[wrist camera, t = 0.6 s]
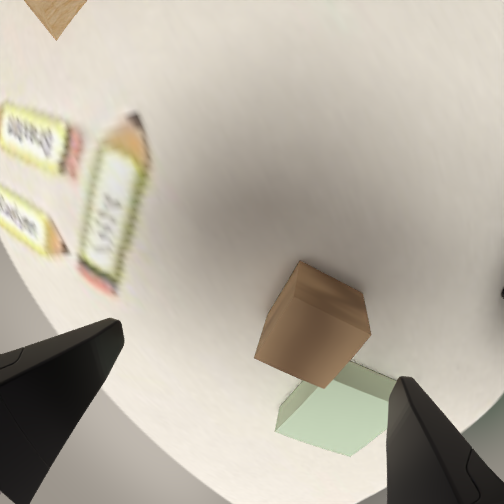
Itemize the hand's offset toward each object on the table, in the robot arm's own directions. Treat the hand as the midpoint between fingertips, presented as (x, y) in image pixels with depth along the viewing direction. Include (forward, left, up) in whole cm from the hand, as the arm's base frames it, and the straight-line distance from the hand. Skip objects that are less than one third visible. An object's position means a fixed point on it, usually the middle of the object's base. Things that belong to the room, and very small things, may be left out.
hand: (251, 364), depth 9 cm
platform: (-11, +11, -12) cm, 20 cm away
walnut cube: (-4, +4, -13) cm, 14 cm away
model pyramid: (+28, -17, -13) cm, 36 cm away
